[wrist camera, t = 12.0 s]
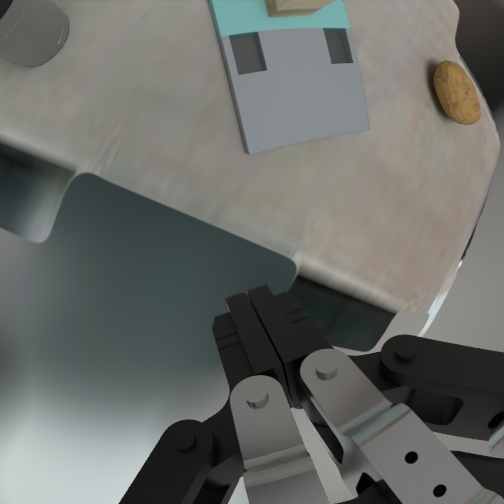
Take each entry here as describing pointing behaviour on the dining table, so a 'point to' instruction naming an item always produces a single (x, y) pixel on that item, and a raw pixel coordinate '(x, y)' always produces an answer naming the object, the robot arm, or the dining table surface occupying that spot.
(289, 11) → the maple block
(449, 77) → the potato
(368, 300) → the dining table surface
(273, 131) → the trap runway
